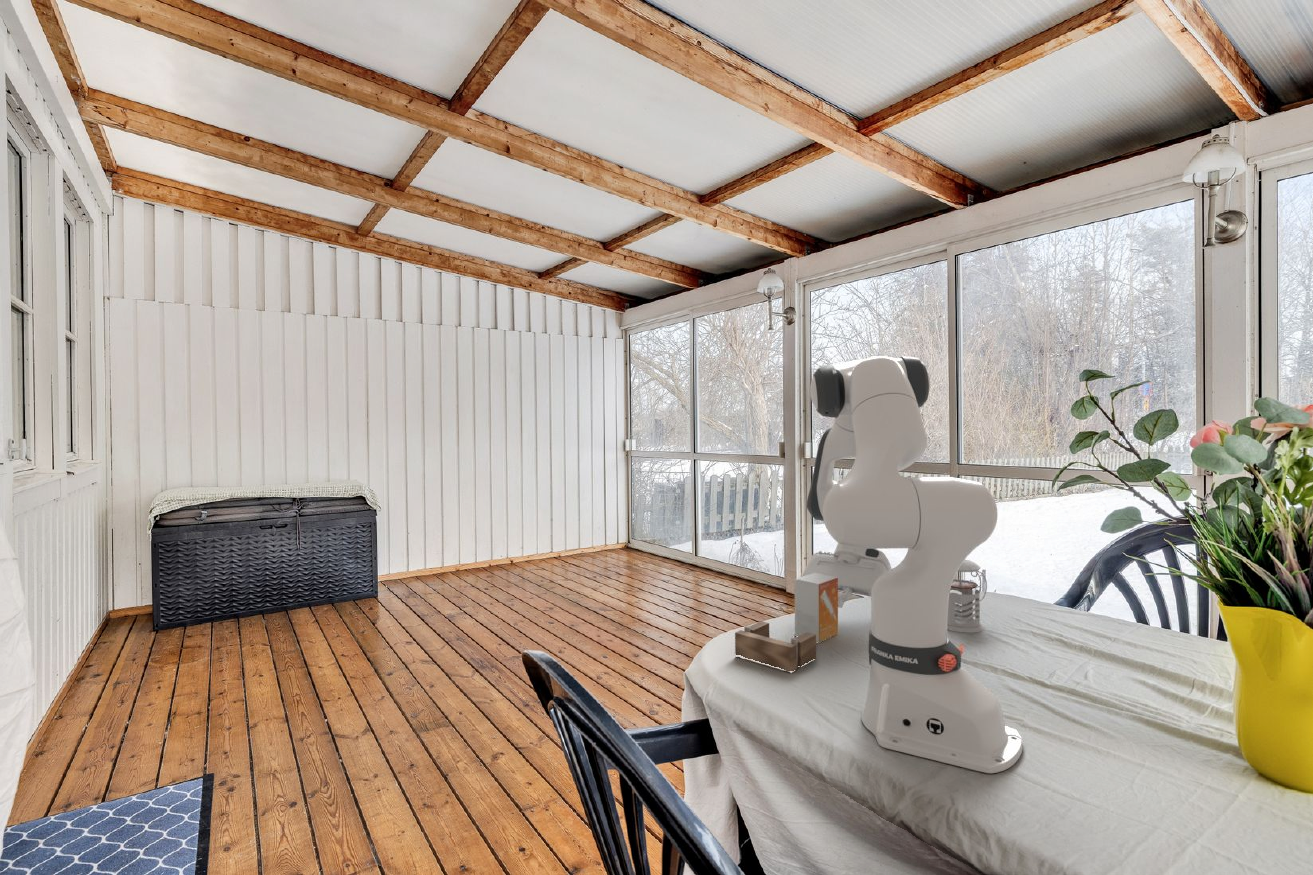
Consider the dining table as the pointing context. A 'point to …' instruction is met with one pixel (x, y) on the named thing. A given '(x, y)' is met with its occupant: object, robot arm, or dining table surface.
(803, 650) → the brown u-shaped piece
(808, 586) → the small box
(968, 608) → the french press
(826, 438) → the robot arm
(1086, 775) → the dining table surface
